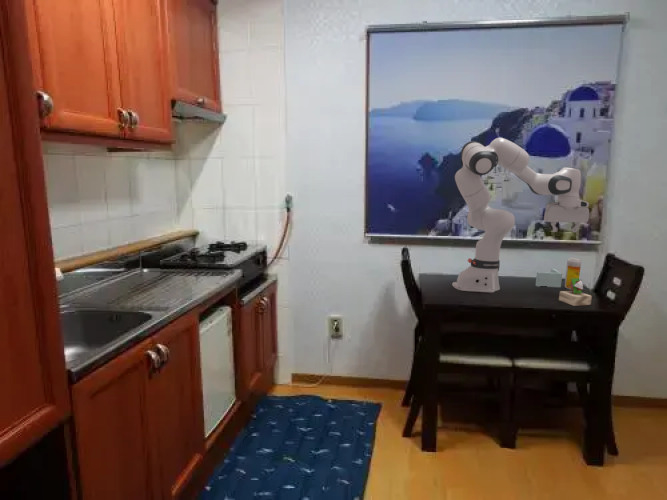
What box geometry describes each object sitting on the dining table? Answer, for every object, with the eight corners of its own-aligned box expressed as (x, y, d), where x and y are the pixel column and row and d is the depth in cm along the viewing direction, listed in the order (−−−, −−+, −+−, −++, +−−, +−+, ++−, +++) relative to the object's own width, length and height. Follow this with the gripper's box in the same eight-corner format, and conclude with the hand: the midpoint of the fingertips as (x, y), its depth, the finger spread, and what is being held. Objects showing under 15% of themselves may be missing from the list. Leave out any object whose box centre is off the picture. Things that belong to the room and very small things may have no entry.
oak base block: (573, 306, 208) (574, 296, 207) (558, 301, 216) (559, 291, 215) (590, 305, 210) (591, 295, 209) (575, 300, 219) (576, 290, 218)
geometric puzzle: (561, 285, 217) (570, 274, 212) (574, 284, 219) (583, 273, 213) (569, 298, 213) (578, 286, 207) (582, 297, 214) (592, 286, 209)
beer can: (579, 290, 234) (583, 260, 232) (566, 289, 236) (569, 259, 233) (575, 287, 240) (579, 258, 238) (562, 286, 241) (566, 257, 239)
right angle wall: (551, 282, 252) (553, 268, 251) (560, 288, 240) (562, 273, 239) (528, 281, 253) (529, 267, 252) (536, 287, 241) (537, 272, 240)
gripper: (549, 202, 220) (546, 232, 222) (592, 203, 221) (589, 233, 224) (542, 201, 226) (540, 230, 229) (584, 202, 228) (581, 231, 230)
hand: (564, 231), depth 226 cm, fingers open, 8 cm apart
